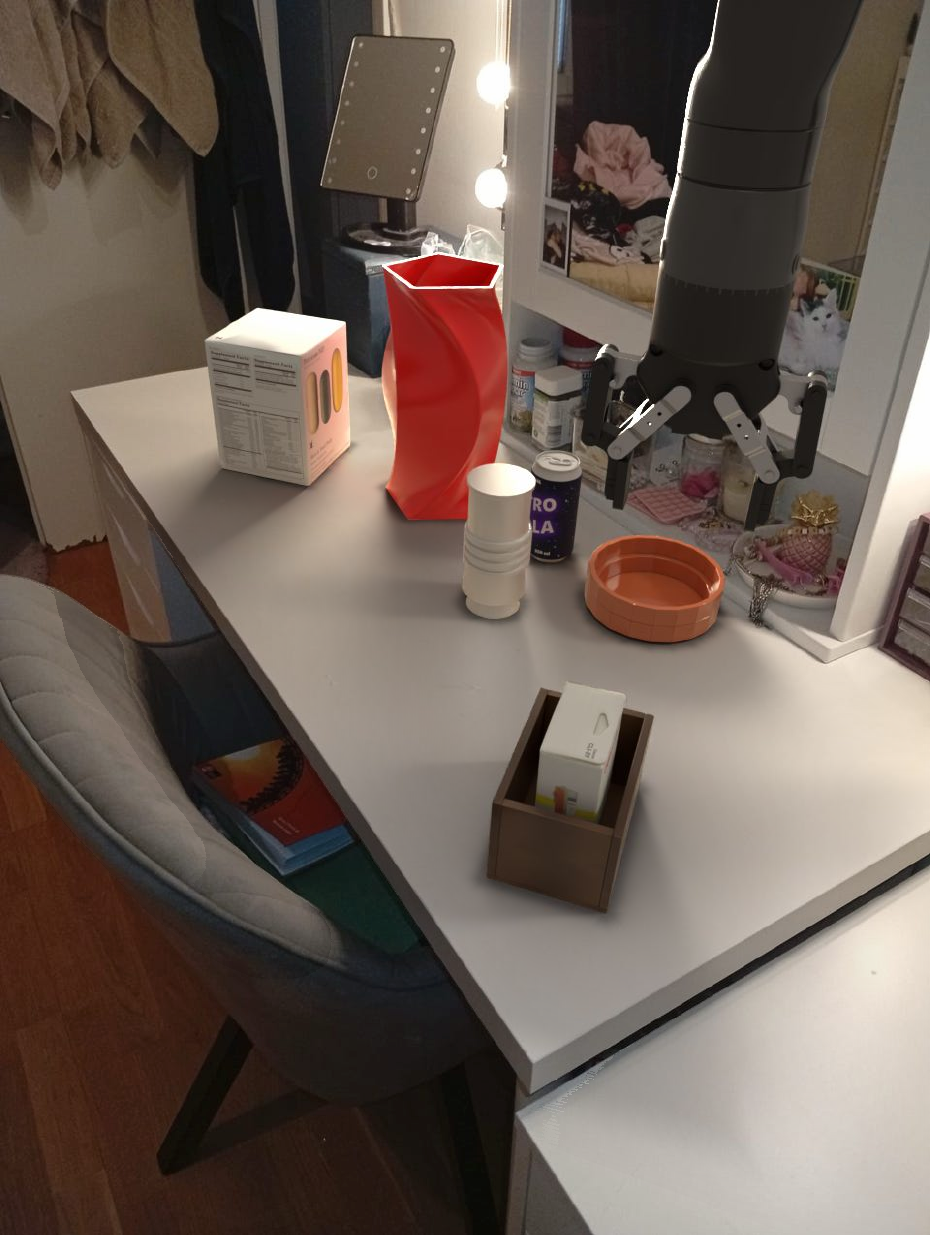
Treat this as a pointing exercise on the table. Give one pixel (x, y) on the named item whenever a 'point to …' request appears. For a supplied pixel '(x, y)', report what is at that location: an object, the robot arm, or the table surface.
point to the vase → (442, 379)
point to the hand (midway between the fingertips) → (683, 514)
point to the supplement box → (280, 394)
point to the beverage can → (554, 504)
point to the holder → (564, 818)
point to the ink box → (579, 752)
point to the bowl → (653, 588)
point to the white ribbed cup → (497, 539)
